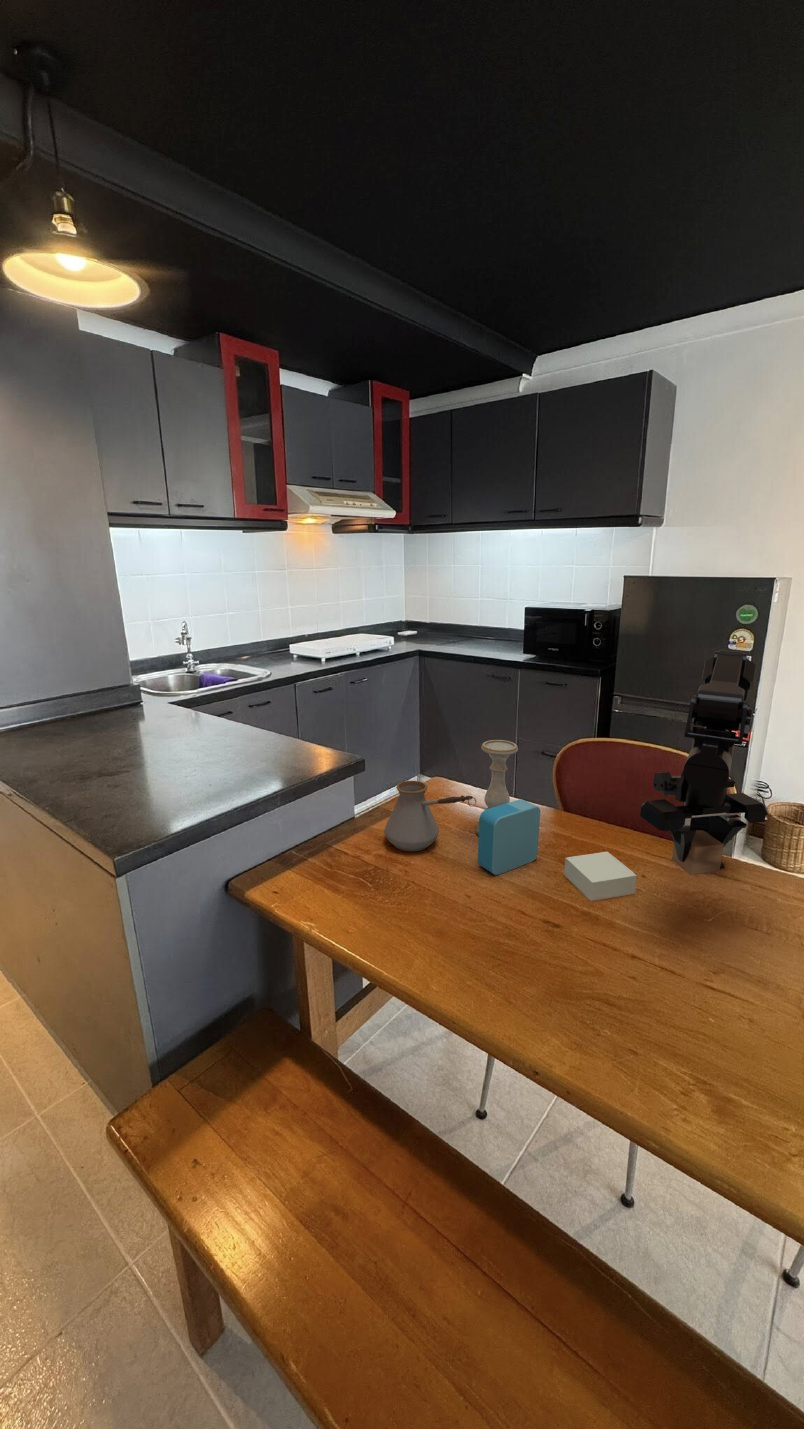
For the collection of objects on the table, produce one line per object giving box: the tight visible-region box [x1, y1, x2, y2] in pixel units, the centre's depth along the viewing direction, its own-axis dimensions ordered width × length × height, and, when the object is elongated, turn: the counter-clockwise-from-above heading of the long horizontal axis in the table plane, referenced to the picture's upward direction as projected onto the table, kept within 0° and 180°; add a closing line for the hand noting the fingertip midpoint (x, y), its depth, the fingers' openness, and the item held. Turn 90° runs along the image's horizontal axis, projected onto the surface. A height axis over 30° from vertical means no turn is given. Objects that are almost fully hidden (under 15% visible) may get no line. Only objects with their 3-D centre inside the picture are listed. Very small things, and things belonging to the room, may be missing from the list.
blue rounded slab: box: [477, 798, 541, 876], centre depth 114 cm, size 12×4×12 cm, turn 123°
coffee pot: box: [383, 780, 477, 852], centre depth 119 cm, size 21×12×15 cm, turn 47°
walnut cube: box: [671, 830, 725, 877], centre depth 95 cm, size 5×5×5 cm
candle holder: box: [474, 739, 519, 837], centre depth 125 cm, size 9×9×20 cm
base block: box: [563, 851, 638, 902], centre depth 108 cm, size 9×9×4 cm
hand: (695, 859), depth 96 cm, fingers closed on walnut cube, 5 cm apart
